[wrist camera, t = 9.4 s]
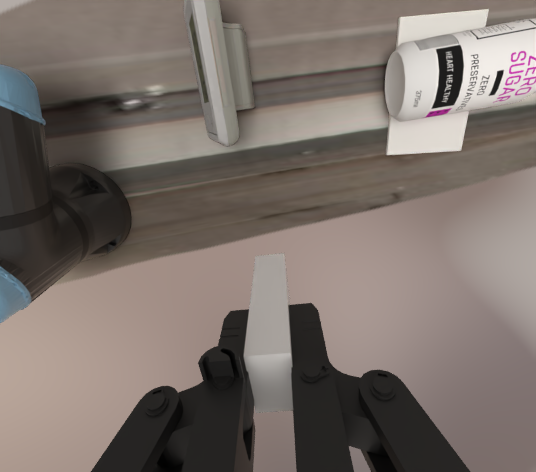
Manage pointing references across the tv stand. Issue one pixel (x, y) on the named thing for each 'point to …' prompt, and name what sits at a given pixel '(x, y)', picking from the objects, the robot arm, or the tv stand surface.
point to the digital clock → (219, 68)
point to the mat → (437, 127)
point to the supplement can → (462, 71)
